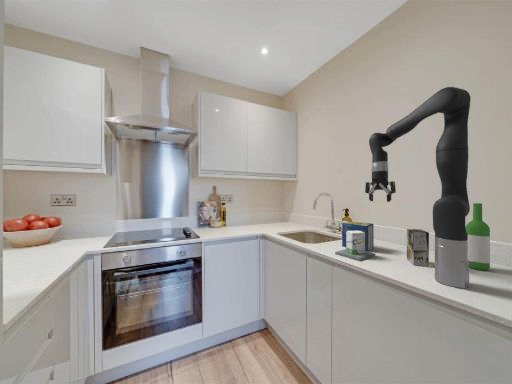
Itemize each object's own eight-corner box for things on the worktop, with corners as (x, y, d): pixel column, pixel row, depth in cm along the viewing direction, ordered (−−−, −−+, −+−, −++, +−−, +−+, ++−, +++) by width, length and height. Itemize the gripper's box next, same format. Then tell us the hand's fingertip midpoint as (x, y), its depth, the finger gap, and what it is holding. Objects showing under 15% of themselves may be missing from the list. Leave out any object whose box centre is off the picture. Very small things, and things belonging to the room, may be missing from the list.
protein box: (349, 243, 139) (349, 220, 139) (373, 248, 127) (374, 223, 127) (341, 246, 132) (341, 222, 132) (366, 251, 120) (366, 225, 120)
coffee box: (429, 266, 96) (429, 232, 96) (413, 265, 98) (413, 231, 98) (421, 260, 105) (421, 229, 105) (406, 259, 107) (406, 228, 107)
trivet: (375, 255, 112) (375, 253, 112) (359, 261, 104) (359, 258, 104) (351, 249, 124) (351, 247, 124) (335, 254, 115) (335, 251, 115)
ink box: (352, 254, 110) (352, 232, 110) (345, 251, 115) (345, 231, 115) (365, 253, 112) (365, 232, 112) (358, 250, 117) (358, 230, 117)
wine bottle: (488, 272, 89) (488, 204, 89) (463, 267, 96) (463, 203, 96) (491, 269, 94) (491, 203, 94) (467, 264, 100) (467, 202, 100)
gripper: (398, 170, 105) (397, 201, 105) (369, 172, 117) (369, 200, 117) (391, 169, 101) (391, 202, 101) (362, 171, 113) (362, 201, 113)
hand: (379, 201), depth 109 cm, fingers open, 8 cm apart
